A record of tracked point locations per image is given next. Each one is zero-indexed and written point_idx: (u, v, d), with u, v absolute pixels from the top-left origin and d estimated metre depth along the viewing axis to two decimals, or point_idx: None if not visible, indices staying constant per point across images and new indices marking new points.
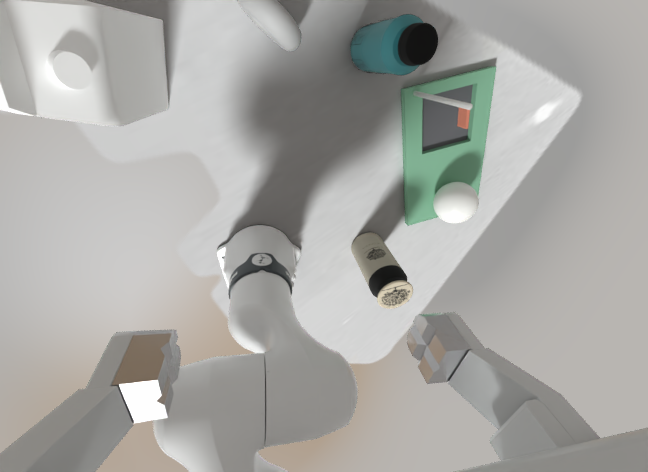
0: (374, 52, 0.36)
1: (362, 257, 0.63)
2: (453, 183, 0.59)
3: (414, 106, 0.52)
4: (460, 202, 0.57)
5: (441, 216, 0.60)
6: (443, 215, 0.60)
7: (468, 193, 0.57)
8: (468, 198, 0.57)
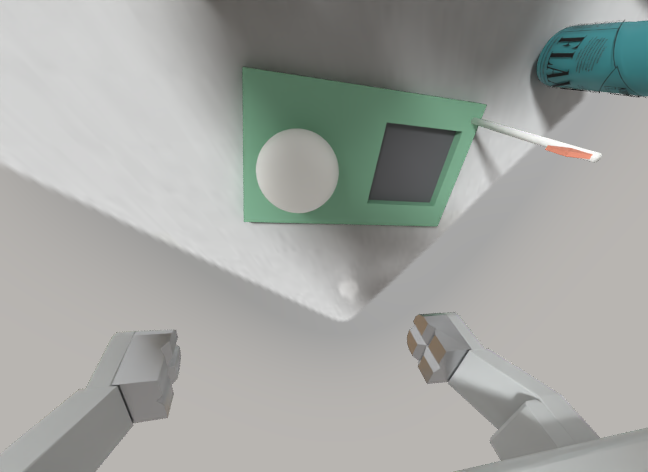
0: None
1: None
2: None
3: (459, 117, 0.36)
4: (326, 172, 0.27)
5: (288, 136, 0.27)
6: (295, 140, 0.27)
7: (332, 190, 0.30)
8: (328, 190, 0.29)
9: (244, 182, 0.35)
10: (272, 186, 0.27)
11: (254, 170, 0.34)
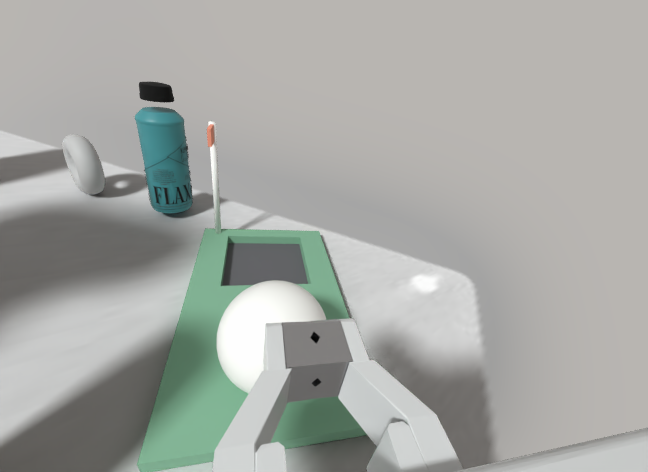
0: None
1: None
2: None
3: (215, 240, 0.41)
4: (258, 284, 0.23)
5: (220, 343, 0.20)
6: (223, 329, 0.20)
7: None
8: None
9: (319, 433, 0.21)
10: None
11: (296, 419, 0.22)
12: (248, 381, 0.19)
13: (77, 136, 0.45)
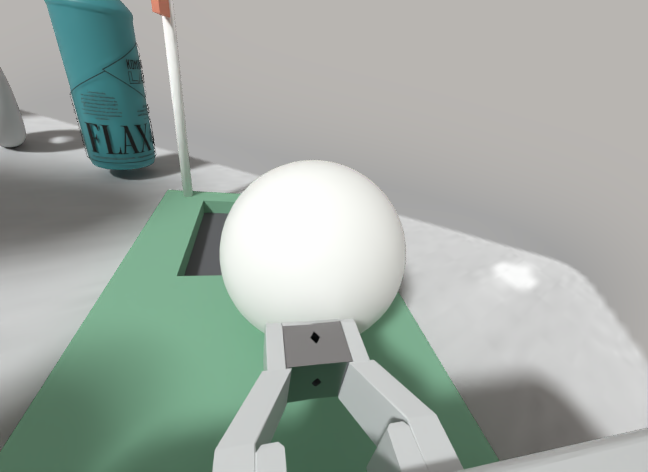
0: None
1: None
2: None
3: (181, 205, 0.25)
4: None
5: None
6: None
7: None
8: None
9: None
10: None
11: None
12: (310, 160, 0.13)
13: None
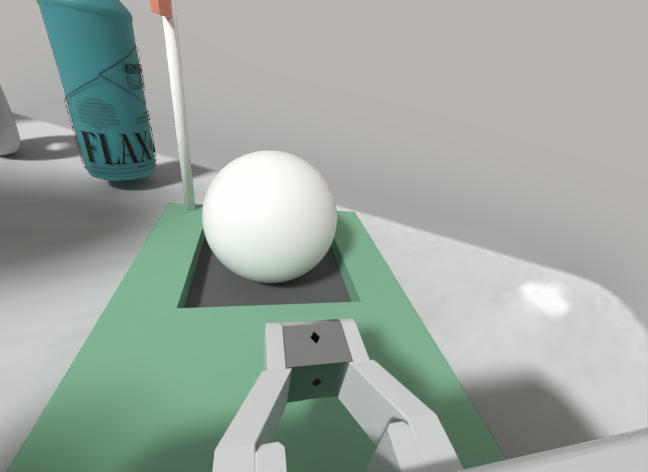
0: None
1: None
2: None
3: (183, 221, 0.23)
4: None
5: None
6: None
7: (229, 267, 0.17)
8: (243, 276, 0.17)
9: None
10: (327, 245, 0.18)
11: None
12: None
13: None
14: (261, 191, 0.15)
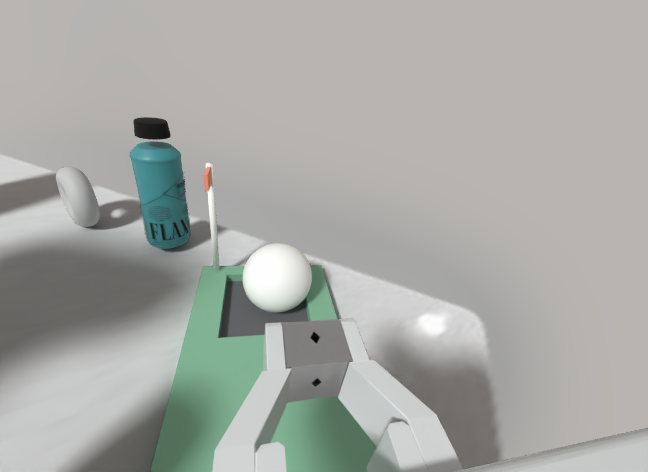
0: None
1: None
2: None
3: (213, 280, 0.39)
4: (264, 309, 0.35)
5: None
6: None
7: (255, 296, 0.33)
8: (261, 302, 0.33)
9: None
10: (305, 294, 0.36)
11: None
12: None
13: (71, 169, 0.43)
14: (285, 261, 0.33)
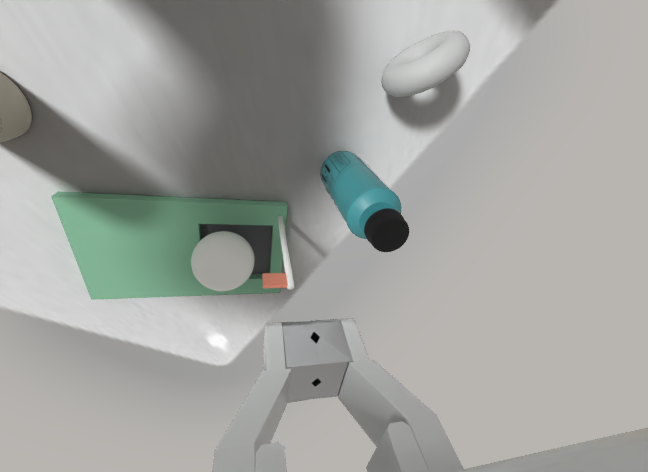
0: (372, 179, 0.31)
1: None
2: (229, 232, 0.42)
3: (265, 216, 0.43)
4: None
5: None
6: None
7: None
8: None
9: (81, 272, 0.42)
10: None
11: (88, 263, 0.41)
12: None
13: (442, 71, 0.29)
14: (193, 263, 0.39)
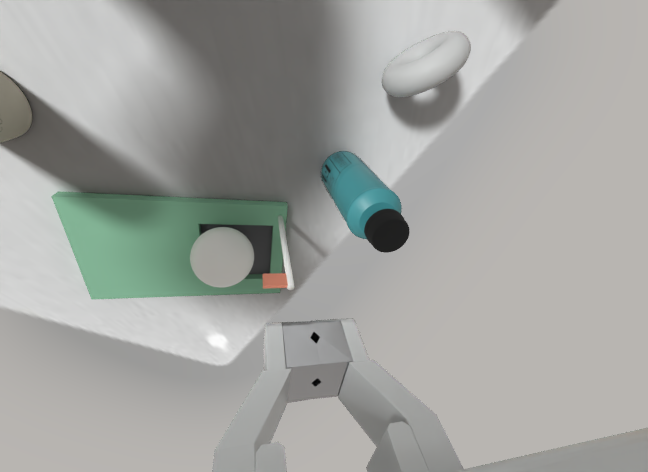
0: (372, 180, 0.31)
1: None
2: None
3: (265, 216, 0.43)
4: None
5: None
6: None
7: None
8: None
9: (81, 272, 0.42)
10: None
11: (88, 263, 0.41)
12: None
13: (442, 71, 0.29)
14: (192, 255, 0.39)
